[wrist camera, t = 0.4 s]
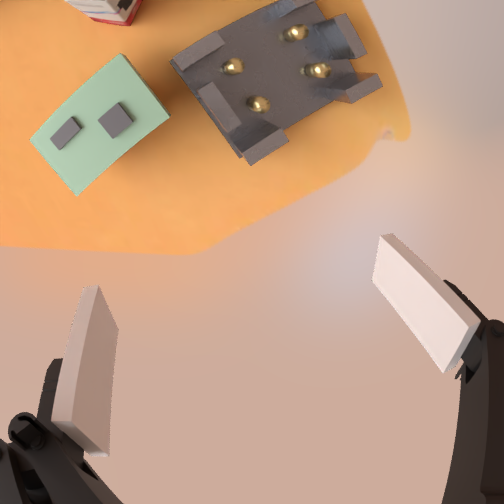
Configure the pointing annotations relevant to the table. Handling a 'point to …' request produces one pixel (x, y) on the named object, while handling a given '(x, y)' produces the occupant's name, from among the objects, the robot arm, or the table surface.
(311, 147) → the table surface
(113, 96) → the board
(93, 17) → the ink box
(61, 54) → the table surface
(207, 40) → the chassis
